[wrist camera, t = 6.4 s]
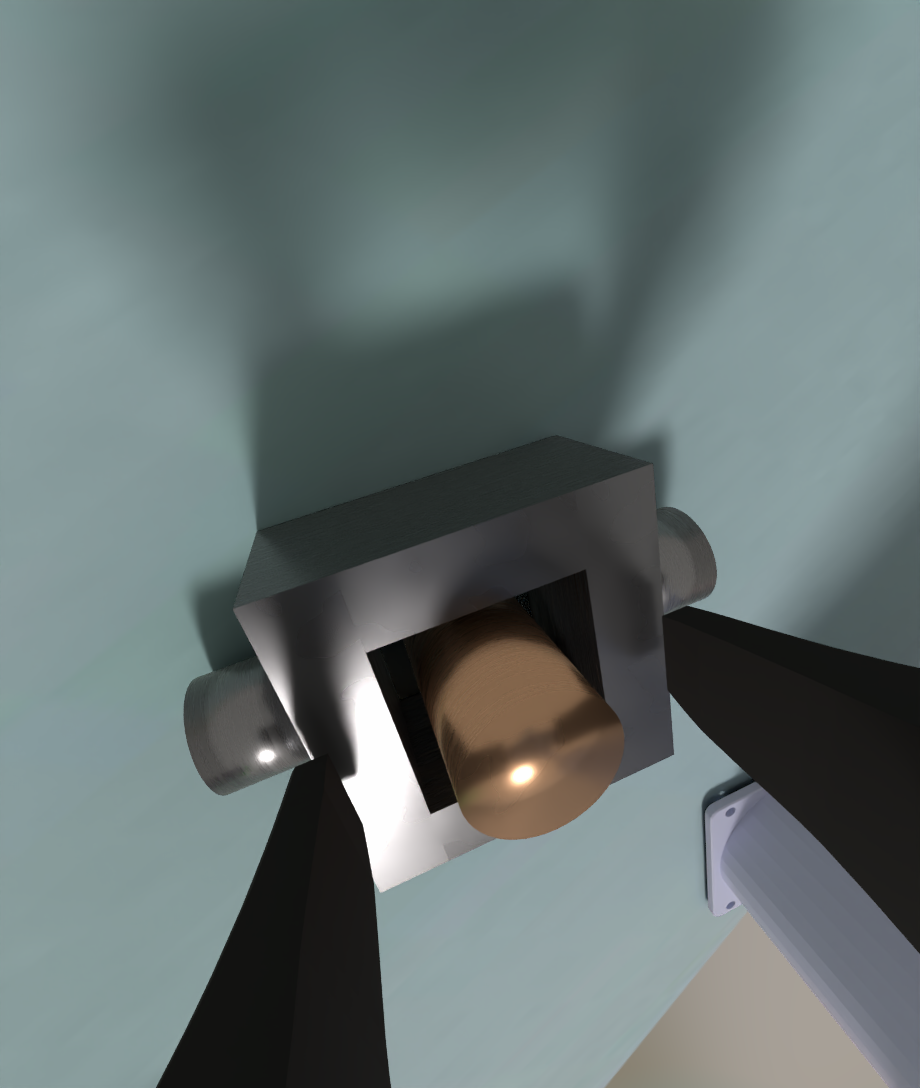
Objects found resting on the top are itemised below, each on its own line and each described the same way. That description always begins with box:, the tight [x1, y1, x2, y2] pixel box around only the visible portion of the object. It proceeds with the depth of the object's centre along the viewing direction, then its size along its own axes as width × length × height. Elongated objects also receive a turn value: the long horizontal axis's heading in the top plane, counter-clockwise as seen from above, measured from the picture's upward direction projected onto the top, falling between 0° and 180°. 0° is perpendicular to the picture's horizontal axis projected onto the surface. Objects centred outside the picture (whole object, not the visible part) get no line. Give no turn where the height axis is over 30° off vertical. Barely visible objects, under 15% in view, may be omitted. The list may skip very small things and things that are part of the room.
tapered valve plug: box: [403, 597, 624, 840], centre depth 11 cm, size 3×3×6 cm
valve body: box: [184, 435, 717, 893], centre depth 12 cm, size 13×8×4 cm, turn 104°
